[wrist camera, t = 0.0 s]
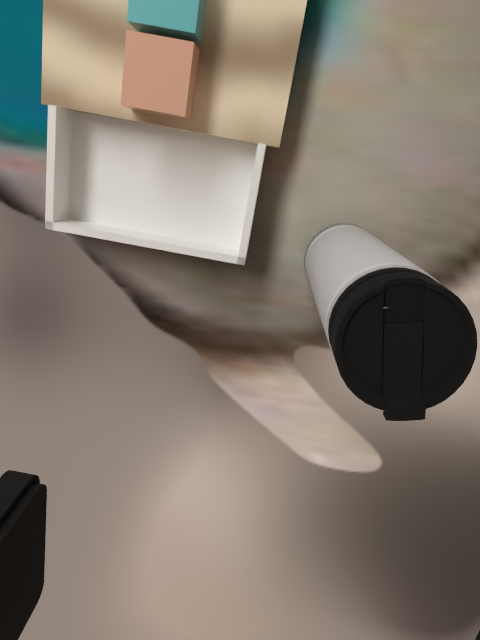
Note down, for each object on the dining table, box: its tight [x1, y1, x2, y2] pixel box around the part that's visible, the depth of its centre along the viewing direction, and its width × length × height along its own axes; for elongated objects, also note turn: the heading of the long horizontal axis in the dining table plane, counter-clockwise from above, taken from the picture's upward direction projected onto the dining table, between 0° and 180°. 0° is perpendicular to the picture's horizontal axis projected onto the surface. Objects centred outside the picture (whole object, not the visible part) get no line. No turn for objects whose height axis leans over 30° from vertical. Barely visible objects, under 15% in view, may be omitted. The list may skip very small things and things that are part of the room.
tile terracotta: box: [121, 30, 200, 120], centre depth 31 cm, size 4×4×2 cm
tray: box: [45, 105, 267, 265], centre depth 35 cm, size 9×16×4 cm, turn 80°
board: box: [41, 0, 307, 149], centre depth 32 cm, size 12×18×2 cm, turn 80°
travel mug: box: [304, 224, 477, 421], centre depth 29 cm, size 6×7×20 cm
